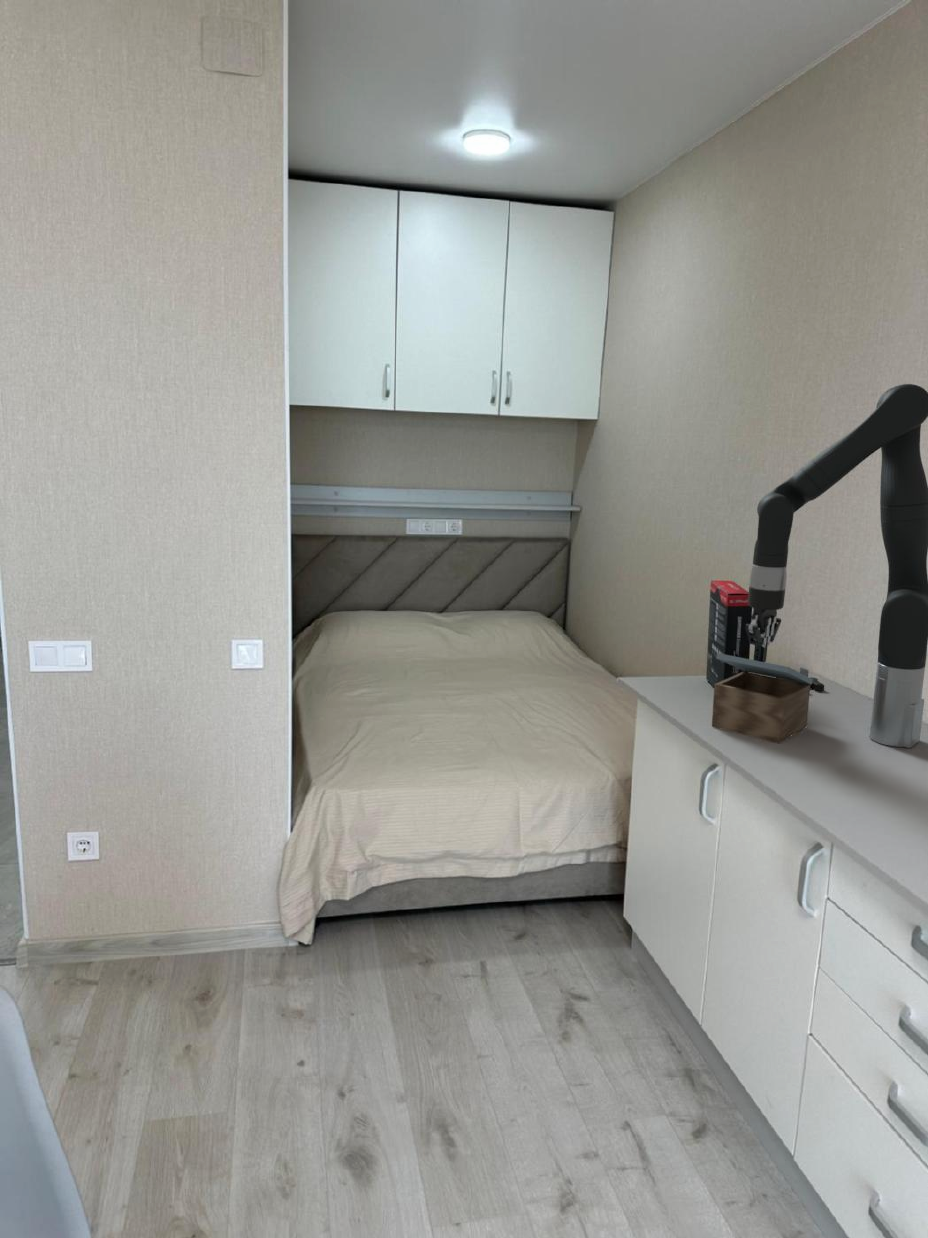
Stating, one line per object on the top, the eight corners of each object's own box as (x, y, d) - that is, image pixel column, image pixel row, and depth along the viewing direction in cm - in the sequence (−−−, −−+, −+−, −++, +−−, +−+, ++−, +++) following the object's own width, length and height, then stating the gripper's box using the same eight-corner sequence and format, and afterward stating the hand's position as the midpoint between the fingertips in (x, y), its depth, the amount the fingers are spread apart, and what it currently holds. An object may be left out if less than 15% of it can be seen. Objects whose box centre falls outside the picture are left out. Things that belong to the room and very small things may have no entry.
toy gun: (770, 683, 237) (771, 666, 235) (818, 685, 235) (819, 667, 234) (776, 694, 227) (778, 676, 226) (826, 697, 225) (828, 678, 224)
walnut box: (806, 727, 203) (810, 685, 201) (779, 743, 193) (782, 699, 191) (740, 711, 214) (743, 671, 211) (711, 726, 204) (714, 684, 202)
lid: (812, 685, 201) (813, 679, 201) (787, 673, 190) (788, 667, 190) (743, 671, 212) (744, 665, 212) (715, 658, 201) (717, 653, 201)
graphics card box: (748, 700, 222) (756, 592, 216) (720, 700, 222) (727, 592, 216) (729, 680, 239) (735, 579, 232) (703, 680, 239) (709, 579, 232)
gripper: (769, 592, 188) (761, 671, 192) (797, 584, 197) (789, 660, 201) (736, 586, 193) (729, 664, 197) (765, 579, 202) (757, 654, 206)
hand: (759, 662), depth 199 cm, fingers closed
